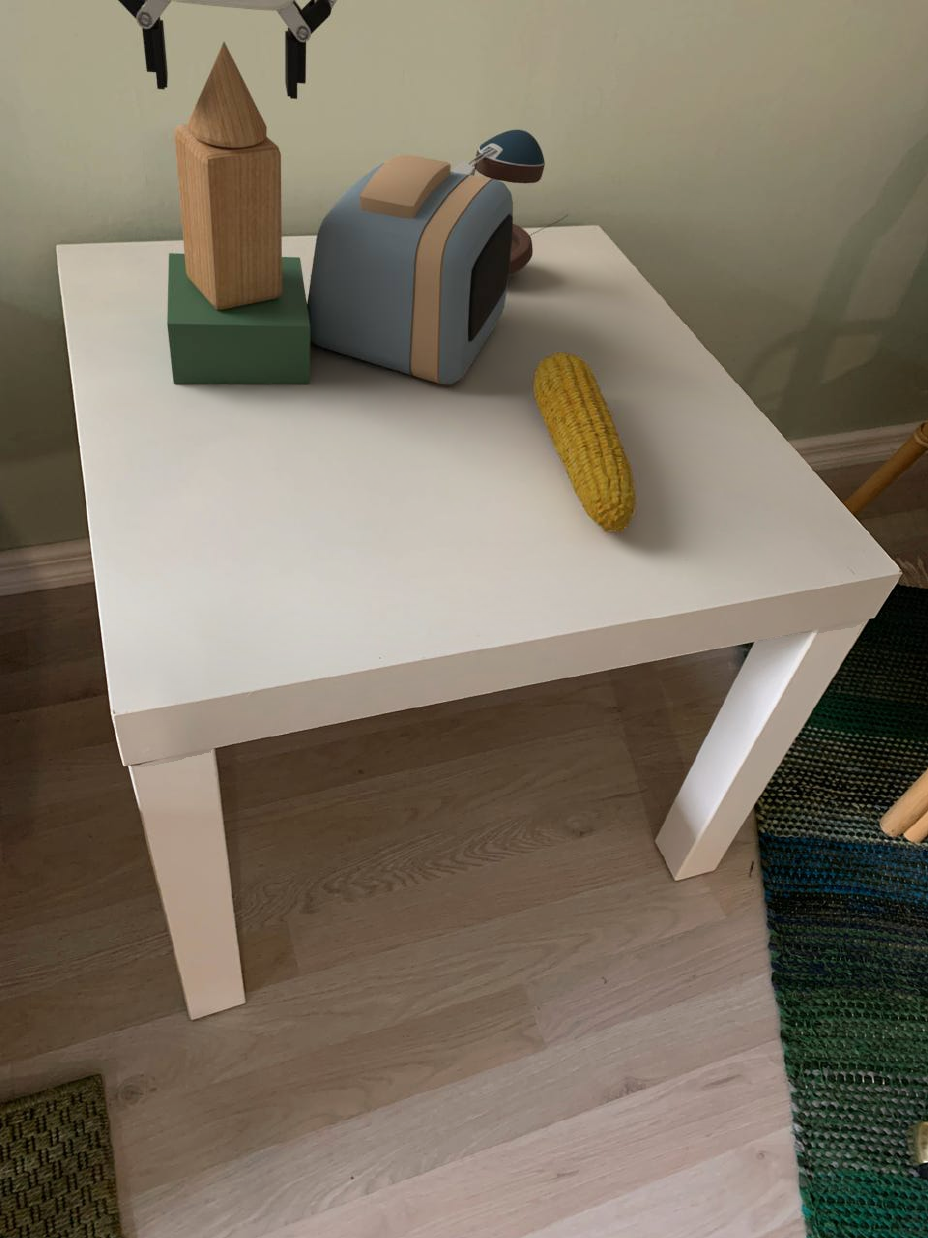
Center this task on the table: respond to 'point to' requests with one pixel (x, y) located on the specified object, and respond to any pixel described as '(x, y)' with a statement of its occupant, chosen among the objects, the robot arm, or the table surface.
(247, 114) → the decorative item
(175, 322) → the green block
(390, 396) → the table surface
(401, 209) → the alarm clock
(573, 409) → the food
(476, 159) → the headphones
